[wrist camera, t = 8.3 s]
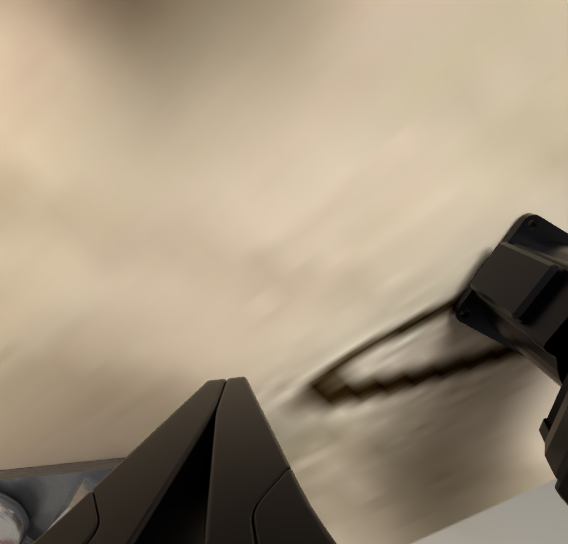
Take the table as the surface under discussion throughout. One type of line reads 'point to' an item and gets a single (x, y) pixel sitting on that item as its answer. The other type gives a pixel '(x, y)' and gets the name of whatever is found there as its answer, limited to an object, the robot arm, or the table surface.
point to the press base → (52, 489)
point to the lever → (13, 522)
